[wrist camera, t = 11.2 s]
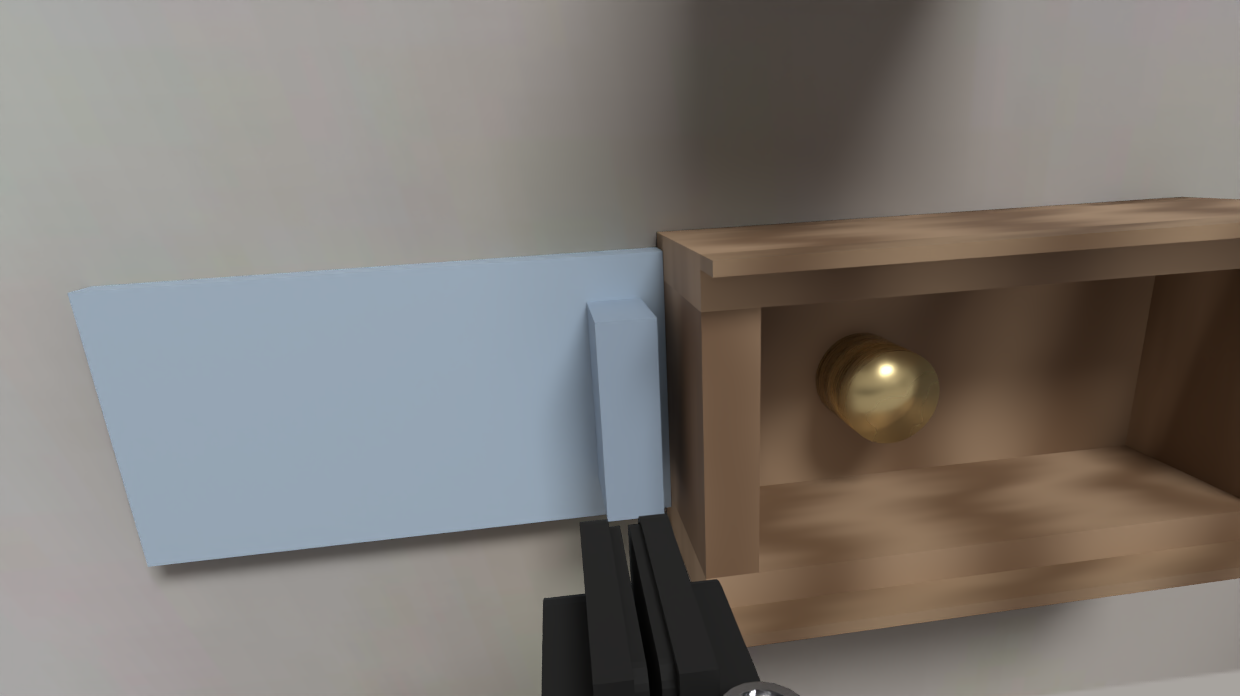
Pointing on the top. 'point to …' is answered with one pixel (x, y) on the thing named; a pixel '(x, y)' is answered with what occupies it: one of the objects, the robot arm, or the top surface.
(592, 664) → the robot arm
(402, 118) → the top surface
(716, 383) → the walnut box
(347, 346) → the cover plate
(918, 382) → the cylinder
